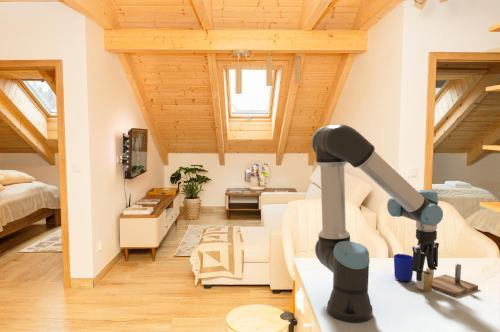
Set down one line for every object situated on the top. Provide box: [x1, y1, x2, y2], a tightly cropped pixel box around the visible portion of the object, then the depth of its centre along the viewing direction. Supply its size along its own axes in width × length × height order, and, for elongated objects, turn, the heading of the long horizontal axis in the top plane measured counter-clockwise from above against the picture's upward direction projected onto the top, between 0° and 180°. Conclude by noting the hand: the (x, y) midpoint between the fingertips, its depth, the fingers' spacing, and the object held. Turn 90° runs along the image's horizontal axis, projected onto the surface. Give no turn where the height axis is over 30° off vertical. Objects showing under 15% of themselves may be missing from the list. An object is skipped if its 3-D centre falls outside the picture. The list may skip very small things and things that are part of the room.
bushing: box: [416, 270, 434, 294], centre depth 152 cm, size 5×5×7 cm
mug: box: [393, 253, 414, 283], centre depth 164 cm, size 8×12×10 cm
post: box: [454, 263, 462, 285], centre depth 154 cm, size 3×3×8 cm
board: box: [432, 274, 479, 298], centre depth 155 cm, size 16×14×2 cm
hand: (424, 286), depth 152 cm, fingers closed on bushing, 5 cm apart
